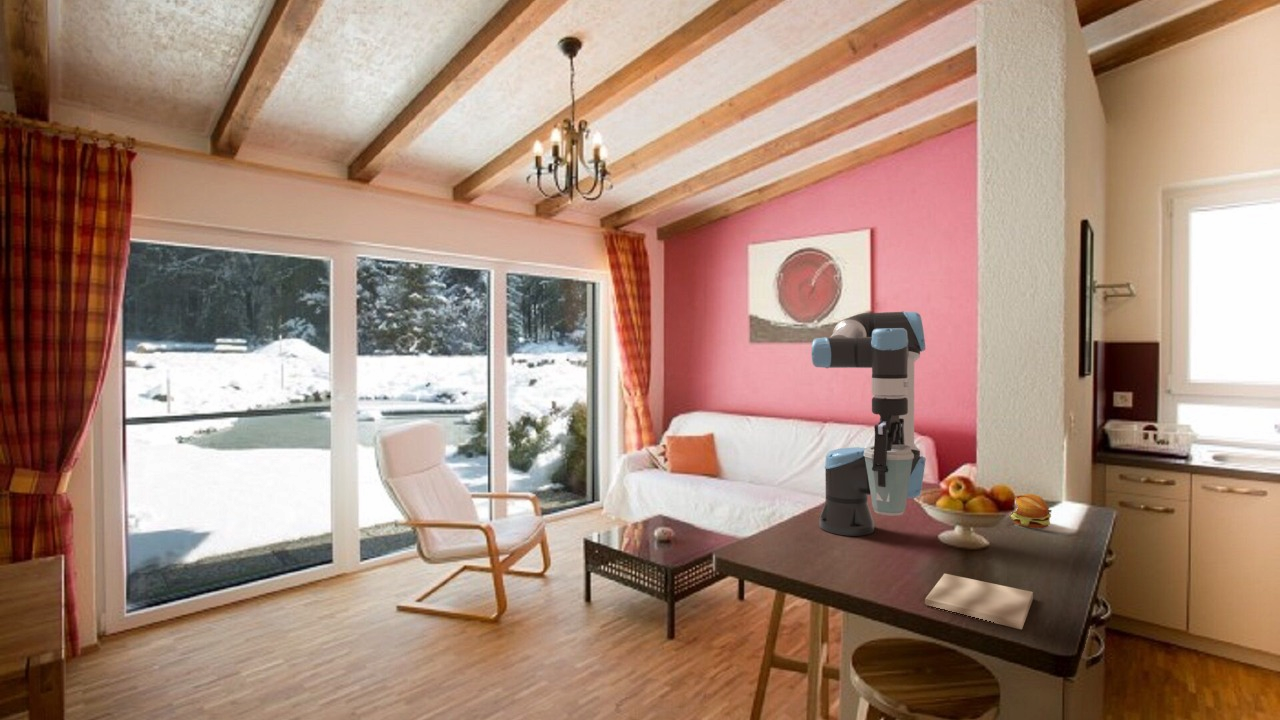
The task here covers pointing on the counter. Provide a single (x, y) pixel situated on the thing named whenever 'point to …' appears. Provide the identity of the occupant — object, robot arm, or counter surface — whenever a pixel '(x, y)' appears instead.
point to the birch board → (981, 600)
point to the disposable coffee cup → (890, 480)
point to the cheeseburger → (1031, 512)
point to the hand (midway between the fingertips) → (889, 496)
